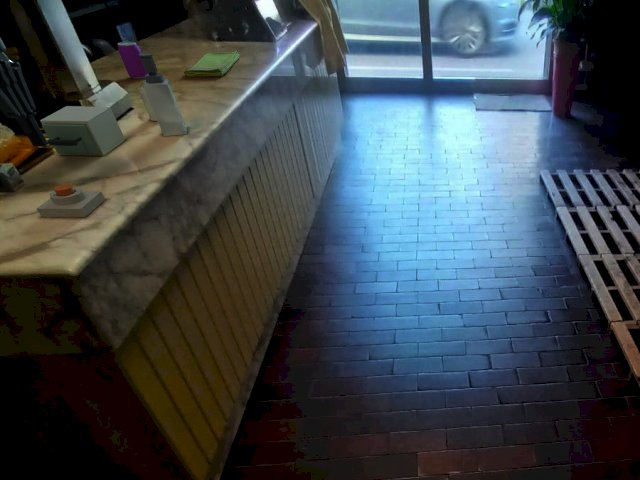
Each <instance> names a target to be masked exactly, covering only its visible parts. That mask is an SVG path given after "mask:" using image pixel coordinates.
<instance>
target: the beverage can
mask: <svg viewBox="0 0 640 480" xmlns="http://www.w3.org/2000/svg"><path fill="white" fill-rule="evenodd" d="M117 50H118V54H119V56H120V59H121V60H122V63H123V65H124V68H125V70H126V72H127V74H128V76H129V77H130V78H131V79H132V80H133V79H134V80H143V79H145V75H147V74H148V73H147V72H146V70H145V68H144V65H143V63H142V60H141V58H140V57H139V54H142V53H143V52H142V50H141V48H140V47H139V46H138V44H137V43H136V42H135V41H121V42H118V43H117ZM145 80H146V79H145Z"/></svg>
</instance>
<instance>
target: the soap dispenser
mask: <svg viewBox="0 0 640 480" xmlns="http://www.w3.org/2000/svg"><path fill="white" fill-rule="evenodd" d="M141 53H142V54H139V57H140V58H141V60H142V63H143V65H144V68H145V70H146V72H147V73H148V74H147V75H145V80H144V83H143V86H144V89H145V91H146V94H147V96H148V98H149V101H150V103H151V106H152V108H153V111H154V113H155V115H156V118H157V120H158V121H157V122H158V125H159V127H160V129H161V132H162V135H163V137H169V136H171V137H172V136H181V135H187V124H186V122H185V120H184V116H183V114H182V112H181V109H180V106H179V104H178V101H177V99H176V97H175V93H174V91H173V88H172V85H171V82H170V80H169V79H168V78H164V76H163V74H161V73H158V72H159V71H158V68H157V66H156V62H155V61H154V58H153V54H152V53H150V52H141Z"/></svg>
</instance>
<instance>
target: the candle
mask: <svg viewBox="0 0 640 480" xmlns="http://www.w3.org/2000/svg"><path fill="white" fill-rule="evenodd" d="M138 94H139V96H140V98H141V102H142V103H143V106H144V108H145V110H146V113H147V115H148V117H149V119H150V121H152V122H158V120H157V118H156V115H155V113H154V111H153V108H152V106H151V103H150V101H149V98H148V96H147V94H146V91H145V89H144V85H141V87H140V89H139V91H138Z"/></svg>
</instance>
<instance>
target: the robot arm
mask: <svg viewBox="0 0 640 480" xmlns="http://www.w3.org/2000/svg"><path fill="white" fill-rule="evenodd" d="M5 52H7V47H6V45H5V43H4V42H3V40H2V38H1V37H0V111H1V112H2V113H3V114H4V116H5V117H6V118H7V119H8V118H9V119H15V120H16V121H17V123H18V124H19V127H20V128H21V129H22V131H23V133H25V134H26V136H27V138H28V140H29V142H30V143H31V145H32V146H33V147H46V146H48V145H49V144H48V142H47V138H46V137H45V136H44V133H43V132H42V130H41V128H40V125H39V124H38V122H37V120H36V118H35V117H34V116H37V111H36V110H37V107H36V104H35V102H34V99H33V97H32V94H31V92H30V90H29V87H28V85H27V83H26V80H25V78H24V75H23V72H22V65H21V63H20V62H18V61H12V60H10V59H9V57H8V56H7V55H6V53H5Z"/></svg>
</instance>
